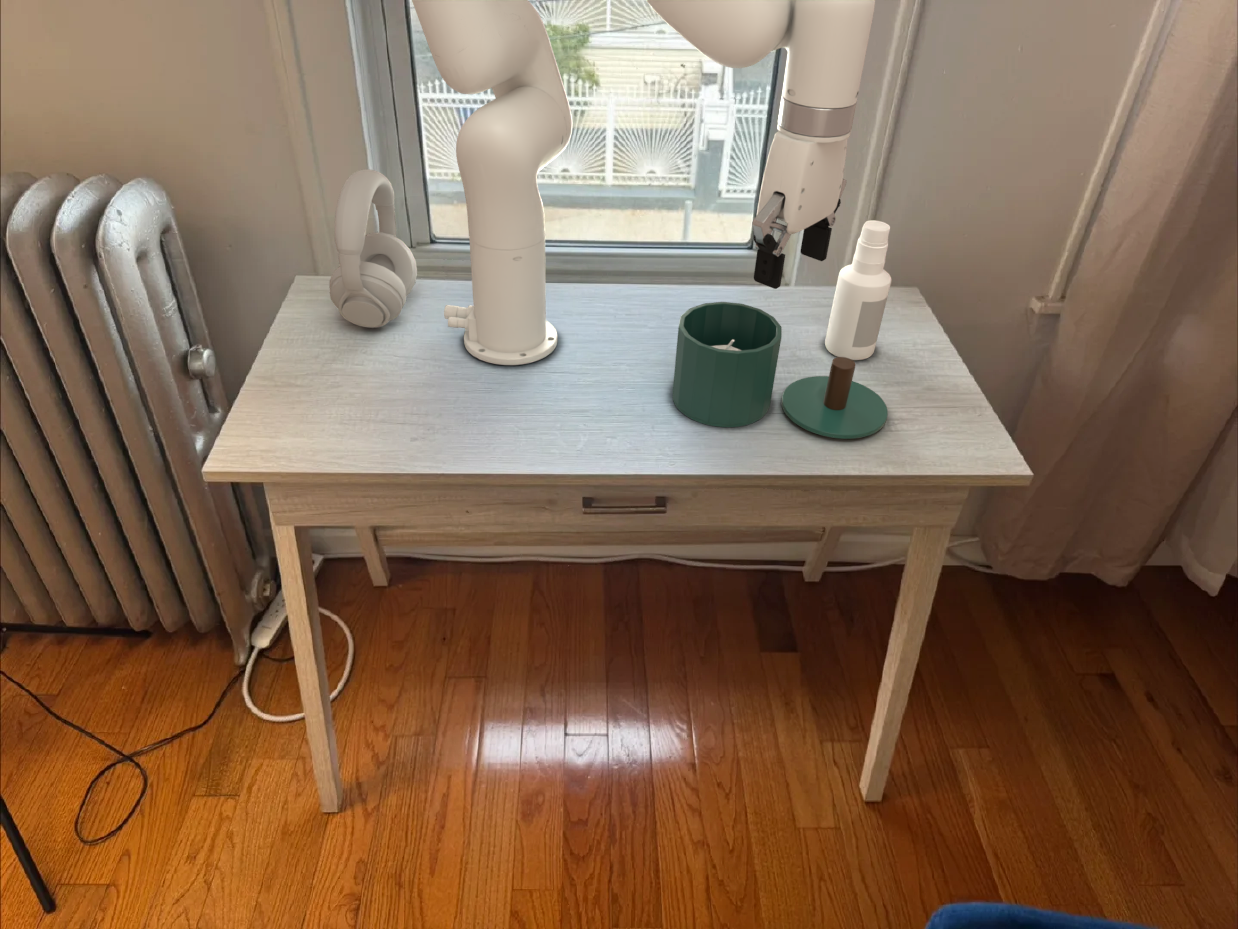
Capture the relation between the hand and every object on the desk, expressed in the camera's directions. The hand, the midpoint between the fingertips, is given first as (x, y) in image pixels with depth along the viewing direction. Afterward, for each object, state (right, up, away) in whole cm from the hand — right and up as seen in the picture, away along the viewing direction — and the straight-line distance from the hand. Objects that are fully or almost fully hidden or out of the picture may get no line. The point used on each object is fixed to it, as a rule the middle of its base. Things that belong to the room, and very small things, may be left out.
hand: (790, 270), depth 104 cm
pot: (-7, -14, +12) cm, 19 cm away
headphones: (-53, -1, +26) cm, 59 cm away
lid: (+7, -15, +10) cm, 20 cm away
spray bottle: (+12, -6, +23) cm, 27 cm away
